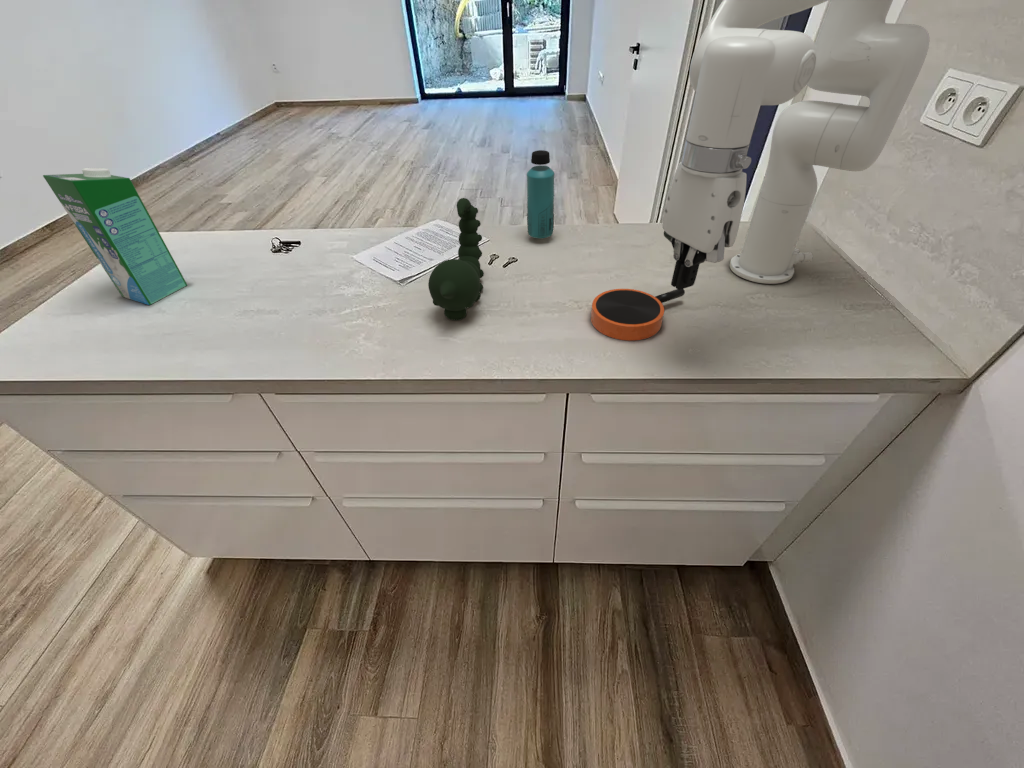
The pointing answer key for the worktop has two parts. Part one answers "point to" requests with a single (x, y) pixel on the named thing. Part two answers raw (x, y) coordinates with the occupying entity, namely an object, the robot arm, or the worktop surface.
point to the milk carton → (119, 233)
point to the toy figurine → (460, 268)
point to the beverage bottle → (540, 196)
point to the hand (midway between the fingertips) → (682, 285)
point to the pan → (630, 313)
